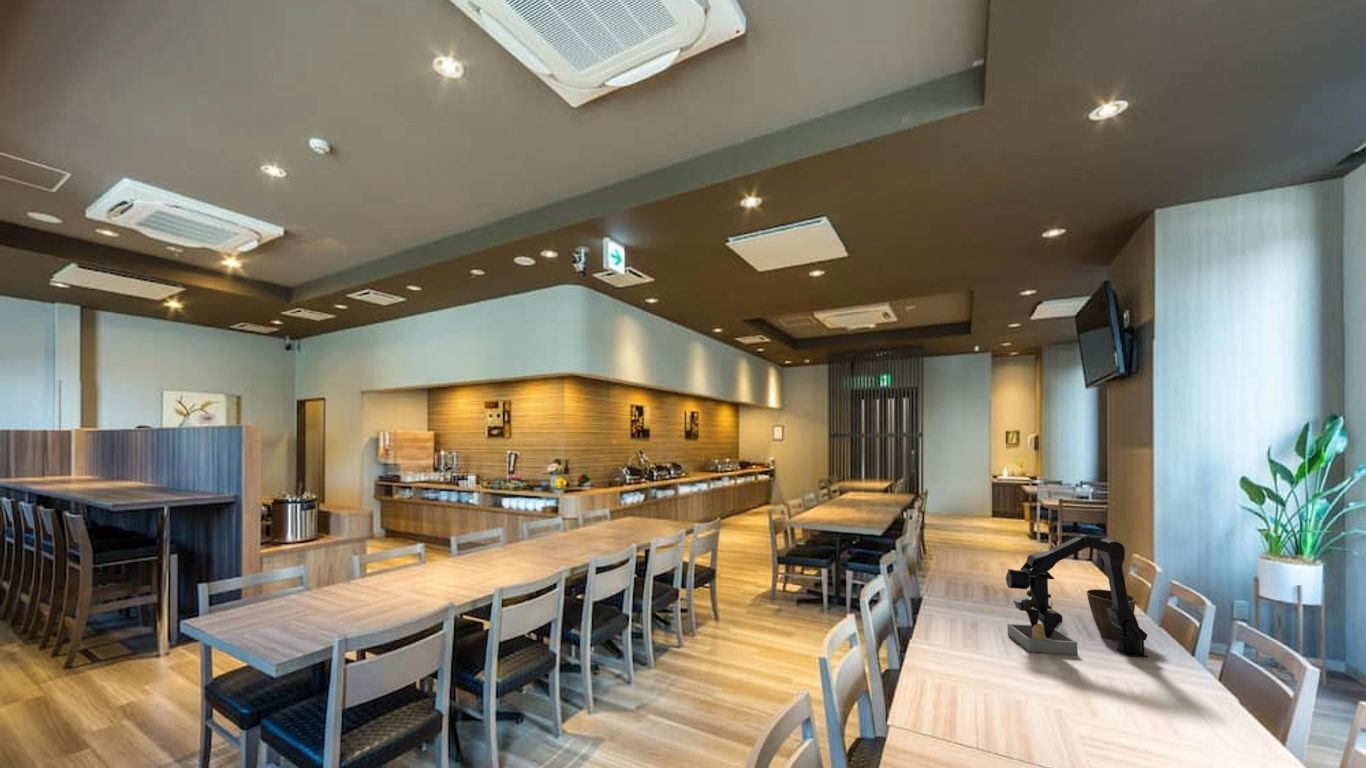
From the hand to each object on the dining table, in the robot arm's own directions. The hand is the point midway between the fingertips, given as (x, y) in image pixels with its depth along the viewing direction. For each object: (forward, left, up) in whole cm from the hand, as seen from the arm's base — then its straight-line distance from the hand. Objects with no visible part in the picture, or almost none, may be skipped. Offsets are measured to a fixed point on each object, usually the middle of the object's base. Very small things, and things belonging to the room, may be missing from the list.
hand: (1040, 633), depth 200 cm
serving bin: (0, 0, -4) cm, 4 cm away
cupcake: (-12, -17, -4) cm, 21 cm away
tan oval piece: (0, 0, -4) cm, 4 cm away
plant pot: (-32, -12, -4) cm, 34 cm away
